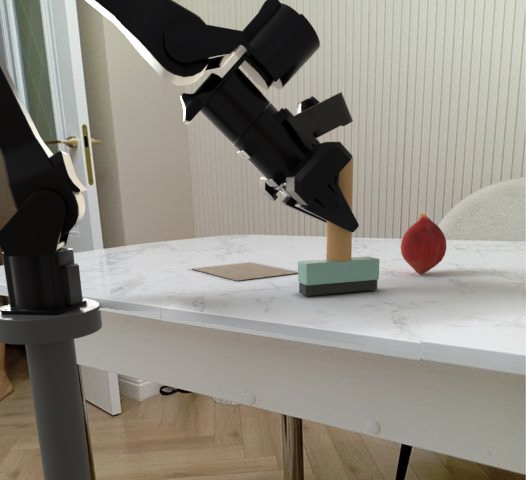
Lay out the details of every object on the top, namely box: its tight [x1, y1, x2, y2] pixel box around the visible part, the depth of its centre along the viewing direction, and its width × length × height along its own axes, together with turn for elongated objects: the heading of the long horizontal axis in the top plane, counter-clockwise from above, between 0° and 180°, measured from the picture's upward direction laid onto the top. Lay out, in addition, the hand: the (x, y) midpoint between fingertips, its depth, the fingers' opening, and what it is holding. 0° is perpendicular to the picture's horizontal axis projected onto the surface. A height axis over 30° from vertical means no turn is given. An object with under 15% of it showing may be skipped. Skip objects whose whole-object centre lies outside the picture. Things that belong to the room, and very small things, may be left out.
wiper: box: [297, 157, 380, 297], centre depth 66 cm, size 9×3×15 cm, turn 109°
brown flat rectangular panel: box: [191, 262, 298, 282], centre depth 86 cm, size 14×10×1 cm
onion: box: [400, 212, 447, 275], centre depth 78 cm, size 6×6×8 cm
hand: (351, 228), depth 66 cm, fingers closed on wiper, 3 cm apart
